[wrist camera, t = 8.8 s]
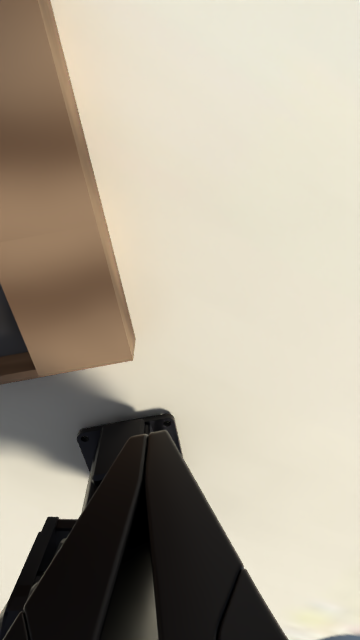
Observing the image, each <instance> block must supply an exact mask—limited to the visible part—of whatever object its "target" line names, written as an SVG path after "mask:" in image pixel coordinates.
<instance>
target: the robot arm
mask: <svg viewBox="0 0 360 640" xmlns="http://www.w3.org/2000/svg"><path fill="white" fill-rule="evenodd" d="M165 421H170V422H168V423H165ZM83 436H87V437H83ZM77 441H78V443H79V446H80V448H81V451H82V453H83V456H84V458H85V461H86V464H87V466H88V469H89V471H90V476H89V480H88V485H87V490H86V494H85V499H84V504H83V508H82V513H81V515H80V517H79V519H59V517H48V518H47V520H46V522H45V524H44V527H43V529H42V531H41V532H39V533H38V535H37V537H36V540H35V542H34V544H33V546H32V549H31V551H30V553H29V555H28V558H27V560H26V562H25V564H24V567H23V569H22V571H21V574H20V576H19V578H18V580H17V583H16V585H15V587H14V589H13V592H12V594H11V596H10V599H9V601H8V602H7V604H6V606H5V607H4V609H3V610H2V612H1V614H0V640H288V638H287V637H286V635H285V634H284V632H283V631H282V629H281V628H280V626H279V624H278V623H277V621H276V619H275V618H274V616H273V614H272V613H271V611H270V609H269V608H268V606H267V604H266V603H265V601H264V599H263V598H262V596H261V594H260V593H259V591H258V589H257V588H256V586H255V584H254V582H253V581H252V579H251V577H250V575H249V573H248V572H247V570H246V569H244V566H243V563H242V562H241V560H240V558H239V556H238V554H237V553H236V551H235V549H234V547H233V546H232V544H231V542H230V540H229V539H228V537H227V535H226V533H225V532H224V530H223V528H222V526H221V524H220V523H219V521H218V519H217V517H216V516H215V514H214V512H213V510H212V509H211V507H210V505H209V503H208V502H207V500H206V498H205V496H204V494H203V493H202V491H201V489H200V487H199V486H198V484H197V482H196V480H195V479H194V477H193V475H192V473H191V471H190V470H189V468H188V466H187V464H186V463H185V461H184V459H183V455H182V450H181V446H180V441H179V437H178V432H177V428H176V423H175V419H174V417H173V416H172V415H171V414H162V415H157V416H151V417H146V418H140V419H135V420H129V421H124V422H118V423H113V424H107V425H102V426H96V427H91V428H85V429H82V430H80V431H79V433H78V436H77Z"/></svg>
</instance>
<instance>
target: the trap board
mask: <svg viewBox="0 0 360 640" xmlns="http://www.w3.org/2000/svg"><path fill="white" fill-rule="evenodd" d="M134 347H135V335H134V331H133V327H132V323H131V319H130V315H129V311H128V307H127V303H126V299H125V295H124V291H123V287H122V283H121V279H120V275H119V271H118V267H117V264H116V260H115V256H114V252H113V248H112V244H111V240H110V236H109V232H108V228H107V224H106V220H105V216H104V212H103V208H102V204H101V200H100V196H99V192H98V188H97V184H96V180H95V176H94V172H93V168H92V165H91V161H90V157H89V153H88V149H87V145H86V141H85V137H84V133H83V129H82V125H81V121H80V117H79V113H78V109H77V105H76V101H75V97H74V93H73V89H72V85H71V81H70V77H69V73H68V69H67V65H66V62H65V58H64V54H63V50H62V46H61V42H60V38H59V34H58V30H57V26H56V22H55V18H54V14H53V10H52V6H51V2H50V0H0V384H6V383H11V382H17V381H22V380H28V379H33V378H39V377H44V376H50V375H55V374H61V373H66V372H72V371H77V370H83V369H88V368H94V367H99V366H105V365H110V364H116V363H121V362H127V361H132V360H133V356H134Z"/></svg>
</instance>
